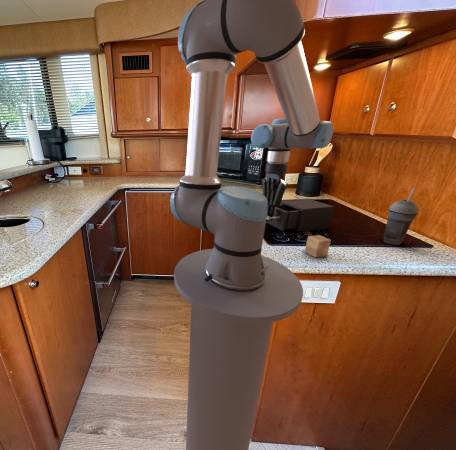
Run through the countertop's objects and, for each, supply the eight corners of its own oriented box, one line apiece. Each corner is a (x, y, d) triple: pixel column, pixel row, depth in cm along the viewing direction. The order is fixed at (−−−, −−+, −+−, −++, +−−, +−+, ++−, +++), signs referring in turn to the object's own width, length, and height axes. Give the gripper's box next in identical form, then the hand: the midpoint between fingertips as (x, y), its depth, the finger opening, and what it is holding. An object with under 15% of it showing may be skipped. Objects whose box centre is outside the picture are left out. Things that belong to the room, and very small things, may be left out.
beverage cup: (396, 238, 88) (416, 185, 81) (411, 247, 81) (434, 189, 74) (373, 237, 89) (390, 184, 82) (386, 245, 83) (406, 189, 76)
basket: (269, 232, 94) (272, 213, 92) (253, 222, 105) (255, 205, 102) (311, 227, 98) (315, 209, 95) (291, 219, 108) (294, 202, 106)
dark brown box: (298, 231, 96) (302, 209, 93) (277, 221, 108) (280, 201, 105) (328, 228, 99) (334, 206, 96) (305, 218, 111) (309, 198, 107)
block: (315, 257, 76) (319, 241, 74) (304, 251, 80) (308, 236, 78) (326, 256, 77) (330, 240, 75) (315, 250, 81) (319, 235, 79)
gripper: (298, 164, 85) (287, 225, 94) (274, 160, 97) (266, 215, 106) (280, 164, 84) (270, 226, 92) (258, 161, 96) (251, 216, 104)
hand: (268, 220), depth 99 cm, fingers closed
